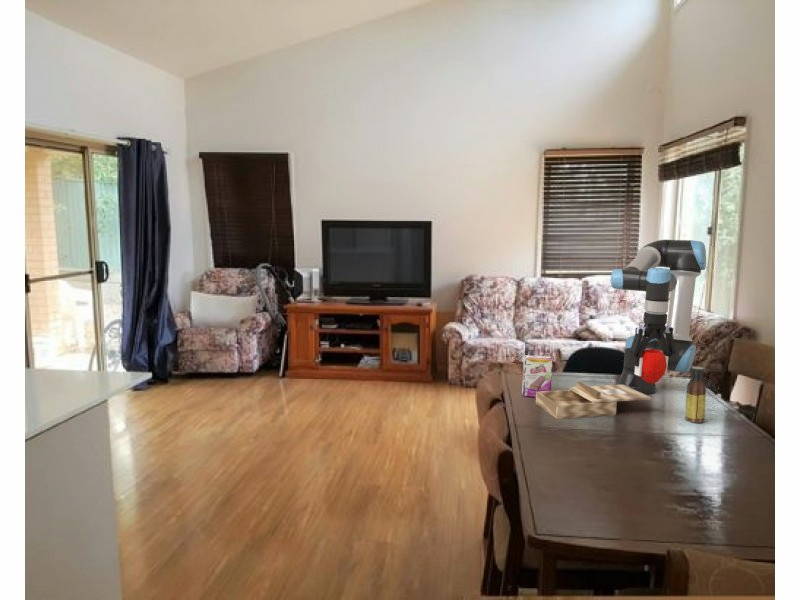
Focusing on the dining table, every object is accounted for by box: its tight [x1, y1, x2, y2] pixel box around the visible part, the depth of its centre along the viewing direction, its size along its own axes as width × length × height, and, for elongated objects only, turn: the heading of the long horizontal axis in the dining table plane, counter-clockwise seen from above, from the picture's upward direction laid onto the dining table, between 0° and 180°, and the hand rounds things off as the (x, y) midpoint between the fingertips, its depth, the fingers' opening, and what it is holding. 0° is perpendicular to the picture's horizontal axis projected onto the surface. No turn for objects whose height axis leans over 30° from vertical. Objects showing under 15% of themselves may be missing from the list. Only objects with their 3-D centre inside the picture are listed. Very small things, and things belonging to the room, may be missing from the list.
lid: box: [568, 381, 651, 403], centre depth 221 cm, size 24×17×3 cm
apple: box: [641, 349, 667, 384], centre depth 204 cm, size 10×10×12 cm
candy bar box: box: [521, 354, 554, 398], centre depth 233 cm, size 11×5×16 cm, turn 84°
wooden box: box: [535, 389, 618, 420], centre depth 218 cm, size 24×17×5 cm
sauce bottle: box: [684, 365, 707, 424], centre depth 207 cm, size 6×6×20 cm
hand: (650, 374), depth 204 cm, fingers closed on apple, 10 cm apart
